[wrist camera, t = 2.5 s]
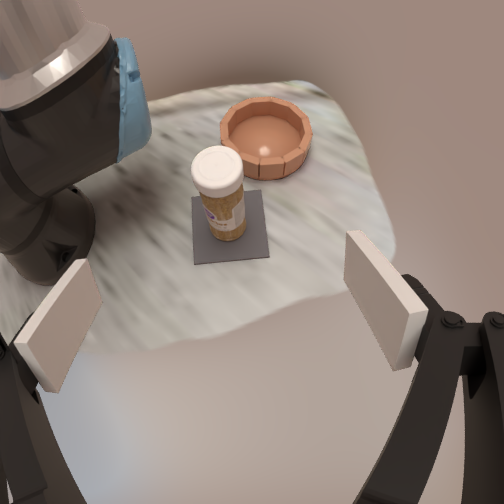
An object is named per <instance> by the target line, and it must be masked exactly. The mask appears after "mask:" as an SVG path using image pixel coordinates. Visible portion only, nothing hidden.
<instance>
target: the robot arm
mask: <svg viewBox="0 0 504 504" xmlns="http://www.w3.org/2000/svg"><path fill="white" fill-rule="evenodd" d="M151 133H152V127H151V120H150V114H149V109H148V104H147V100H146V96H145V91H144V87H143V84H142V80H141V78H140V72H139V69H138V63H137V59H136V55H135V52H134V48H133V45H132V43H131V41H130V39H128V38H117V39H114V41H113V39H112V36H111V34H110V31H109V29H108V27H107V26H105V25H102V24H99V23H95V22H91V21H87V20H86V19H85V17H84V14H83V12H82V9H81V7H80V5H79V2H78V0H0V253H2V254H4V255H5V257H6V258H7V259H8V260H9V262H10V263H11V264H12V265H13V266H14V267H15V269H16V270H17V271H18V272H19V273H20V274H21V275H22V276H23V277H24V278H26V279H27V280H30V281H32V282H34V283H37V284H40V285H53V284H56V285H55V286H54V287H53V288H52V290H51V291H50V292H49V293H48V295H47V296H46V297H45V299H44V300H43V301H42V303H41V304H40V305H39V307H38V308H37V309H36V311H34V312H33V313H32V314H31V315H30V316H29V317H28V318H27V320H26V321H25V322H24V324H23V325H22V327H21V328H20V330H19V331H18V332H17V334H16V335H15V337H14V338H13V340H12V341H11V343H10V344H9V346H8V345H7V344H6V342H5V340H4V338H3V337H2V335H1V333H0V504H9V499H8V490H7V481H8V484H9V488H10V490H11V494H12V497H13V503H11V504H87V503H86V501H85V499H84V497H83V496H82V494H81V492H80V490H79V488H78V486H77V484H76V482H75V480H74V478H73V476H72V474H71V472H70V470H69V468H68V466H67V464H66V462H65V460H64V457H63V455H62V453H61V451H60V448H59V446H58V444H57V441H56V439H55V436H54V434H53V431H52V429H51V426H50V423H49V421H48V418H47V415H46V412H45V410H44V406H43V403H42V401H41V397H40V394H39V392H38V391H37V390H36V386H37V384H38V382H39V384H40V385H41V386H42V388H43V389H44V390H45V391H46V392H53V393H59V391H60V388H61V386H62V384H63V382H64V379H65V377H66V375H67V373H68V371H69V368H70V366H71V364H72V362H73V360H74V358H75V356H76V354H77V352H78V350H79V347H80V345H81V343H82V341H83V339H84V337H85V335H86V333H87V331H88V329H89V328H90V326H91V324H92V322H93V320H94V318H95V316H96V314H97V312H98V310H99V308H100V307H101V305H102V303H103V302H102V299H101V296H100V294H99V291H98V288H97V285H96V283H95V280H94V277H93V274H92V271H91V268H90V265H89V262H88V259H85V257H86V255H87V253H88V251H89V249H90V246H91V244H92V240H93V236H94V231H95V215H94V210H93V207H92V205H91V203H90V201H89V199H88V198H87V197H86V196H85V195H84V194H83V193H82V192H81V191H80V190H79V189H78V188H77V187H75V186H74V185H73V184H75V183H77V182H79V181H81V180H83V179H84V178H86V177H88V176H90V175H92V174H94V173H96V172H98V171H100V170H102V169H104V168H106V167H108V166H110V165H112V164H114V163H116V164H117V163H119V162H120V161H121V160H122V158H124V157H126V156H128V155H130V154H132V153H133V152H135V151H137V150H139V149H141V148H143V147H144V146H145V145H146V144H147V142H148V141H149V139H150V137H151ZM344 281H345V283H346V285H347V287H348V288H349V290H350V292H351V294H352V295H353V297H354V299H355V301H356V303H357V304H358V306H359V308H360V310H361V312H362V313H363V315H364V317H365V319H366V320H367V323H368V324H369V326H370V328H371V330H372V331H373V333H374V336H375V337H376V339H377V341H378V343H379V345H380V347H381V349H382V351H383V352H384V355H385V356H386V358H387V360H388V362H389V364H390V366H391V368H392V370H393V371H397V370H401V369H405V368H408V367H410V366H411V364H412V361H413V358H414V356H415V357H416V359H417V361H418V362H419V364H418V367H417V370H416V372H415V375H414V377H413V380H412V383H411V386H410V389H409V391H408V394H407V396H406V399H405V401H404V404H403V406H402V409H401V411H400V413H399V416H398V418H397V420H396V422H395V425H394V427H393V429H392V431H391V433H390V436H389V438H388V440H387V442H386V444H385V446H384V448H383V450H382V452H381V454H380V456H379V458H378V460H377V462H376V464H375V465H374V467H373V469H372V471H371V473H370V475H369V477H368V478H367V480H366V482H365V484H364V485H363V487H362V489H361V490H360V492H359V494H358V495H357V497H356V499H355V500H354V502H353V504H418V502H419V500H420V497H421V495H422V493H423V490H424V488H425V486H426V483H427V480H428V478H429V475H430V473H431V471H432V468H433V465H434V463H435V460H436V457H437V454H438V451H439V448H440V445H441V442H442V439H443V436H444V432H445V429H446V426H447V422H448V419H449V415H450V412H451V408H452V404H453V400H454V396H455V391H456V387H457V382H458V378H459V376H461V375H462V381H463V393H464V413H465V460H464V461H465V462H464V478H463V491H462V501H461V504H504V314H501V313H499V312H488V313H486V314H485V315H484V317H483V319H482V322H481V323H466V321H465V320H464V318H463V317H462V316H460V315H459V314H457V313H454V312H451V311H444V310H443V309H442V307H441V306H440V305H439V304H438V303H437V301H436V300H435V299H434V298H433V297H432V296H431V294H429V293H428V291H427V290H426V289H425V288H424V287H423V285H422V284H421V283H420V282H419V281H418V280H417V279H416V278H414V277H412V276H411V275H409V274H405V275H400V274H399V273H398V272H397V270H396V269H395V268H394V267H393V266H392V265H391V263H390V262H389V261H388V260H387V259H386V258H385V257H384V255H383V254H382V253H381V252H380V251H379V250H378V249H377V247H376V246H375V245H374V244H373V243H372V242H371V241H370V240H369V239H368V237H367V236H366V235H365V234H364V233H363V232H362V231H361V230H356V231H346V250H345V267H344ZM6 478H7V479H6Z"/></svg>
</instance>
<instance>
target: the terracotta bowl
mask: <svg viewBox="0 0 504 504" xmlns="http://www.w3.org/2000/svg"><path fill="white" fill-rule="evenodd" d="M220 133H221V144H222V146H226V147H229V148H231V149H233V150H234V151H236V152H237V153H238V154H239V156H240V157H241V159H242V163H243V172H244V176H247V177H250V178H253V179H258V180H275V179H280V178H283V177H286V176H288V175H290V174H292V173H293V172H295V171H296V170H297V169H298V168H299V167H300V166H301V165H302V164H303V162H304V160H305V158H306V156H307V153H308V150H309V148H310V144H311V140H312V135H313V133H312V129H311V126H310V122H309V118H308V117H307V115H306V114H304V113H303V112H302V111H301V110H300V109H299V108H298V107H297V106H296V105H294V104H292V103H291V102H288V101H284V100H281V99H278V98H275V97H272V98H271V97H257V98H250V99H246V100H244V101H242V102H240V103H238V104H236V105H234V106H232V107H231V108H230V109H229V110H228V112H227V113H226V115H225V116H224V118H223V119H222V121H221V122H220Z"/></svg>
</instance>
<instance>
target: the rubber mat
mask: <svg viewBox="0 0 504 504" xmlns="http://www.w3.org/2000/svg"><path fill="white" fill-rule="evenodd" d="M244 203H245V219H246V228H245V231H244V233H243V234H242V235H241V236H240V237H239V238H237V239H235V240H233V241H222V240H219V239H217V238H216V237H215V236H214V235H213V234H212V232H211V230H210V225H209V221H208V219H207V216H206V213H205V210H204V207H203V203H202V199H201V196H196V197H192V227H193V252H194V265H196V264H206V263H216V262H226V261H236V260H246V259H256V258H266V257H269V249H268V241H267V233H266V225H265V217H264V209H263V202H262V194H261V190H253V191H244Z"/></svg>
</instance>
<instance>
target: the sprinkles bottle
mask: <svg viewBox="0 0 504 504" xmlns="http://www.w3.org/2000/svg"><path fill="white" fill-rule="evenodd" d="M191 175H192V179H193V182H194V185H195V187H196V188H197V190H198V191H199V193H200V196H201V199H202V203H203V207H204V210H205V213H206V216H207V219H208V221H209V225H210V230H211V232H212V234H213V235H214V236H215V237H216V238H217V239H219V240H222V241H233V240H235V239H237V238H239V237H240V236H241V235H242V234H243V233H244V231H245V228H246V219H245V203H244V190H243V184H242V181H243V177H244V172H243V163H242V159H241V157H240V156H239V154H238V153H237V152H236V151H234V150H233V149H231V148H229V147H226V146H212V147H208V148H206V149H204V150H202V151H201V152H199V153H198V154H197V155H196V156H195V158H194V159H193V161H192V164H191Z"/></svg>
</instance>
